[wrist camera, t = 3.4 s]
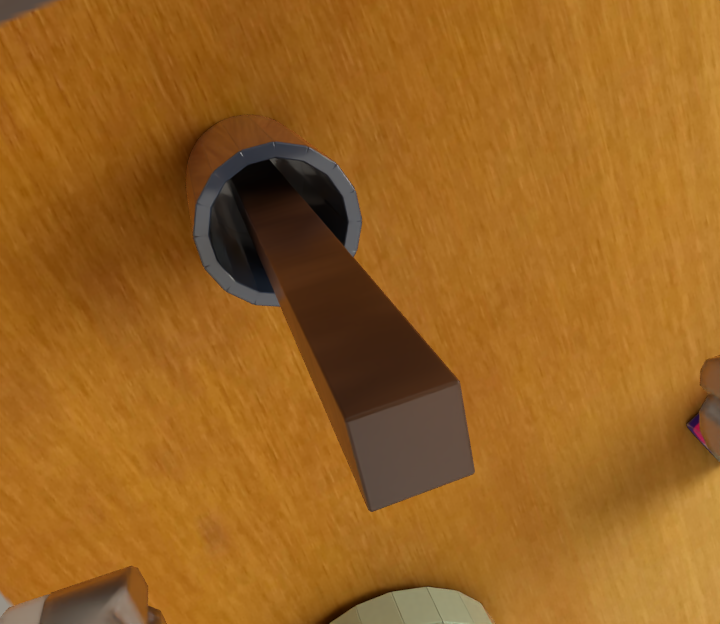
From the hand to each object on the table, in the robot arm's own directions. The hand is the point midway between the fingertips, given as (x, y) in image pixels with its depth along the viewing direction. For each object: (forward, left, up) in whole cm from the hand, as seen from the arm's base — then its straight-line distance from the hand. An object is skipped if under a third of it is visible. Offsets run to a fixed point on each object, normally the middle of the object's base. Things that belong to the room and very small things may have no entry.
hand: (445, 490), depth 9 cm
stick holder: (0, 0, -22) cm, 22 cm away
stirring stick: (0, 0, -21) cm, 21 cm away
